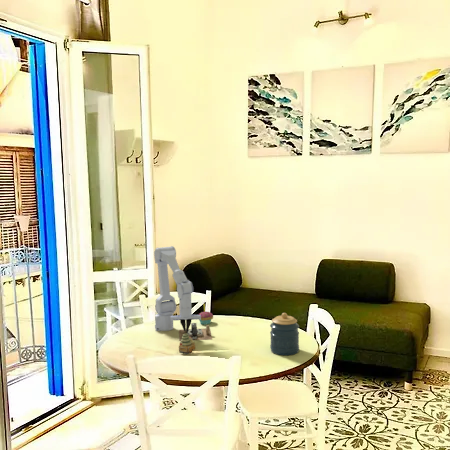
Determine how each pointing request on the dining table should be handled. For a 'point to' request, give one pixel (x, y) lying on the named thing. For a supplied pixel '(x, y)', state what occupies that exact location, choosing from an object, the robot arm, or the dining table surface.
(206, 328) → the dowel
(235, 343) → the dining table surface
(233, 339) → the dining table surface
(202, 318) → the cupcake
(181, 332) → the board
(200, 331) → the flange
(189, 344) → the topped waffle
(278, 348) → the canister
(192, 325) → the post
